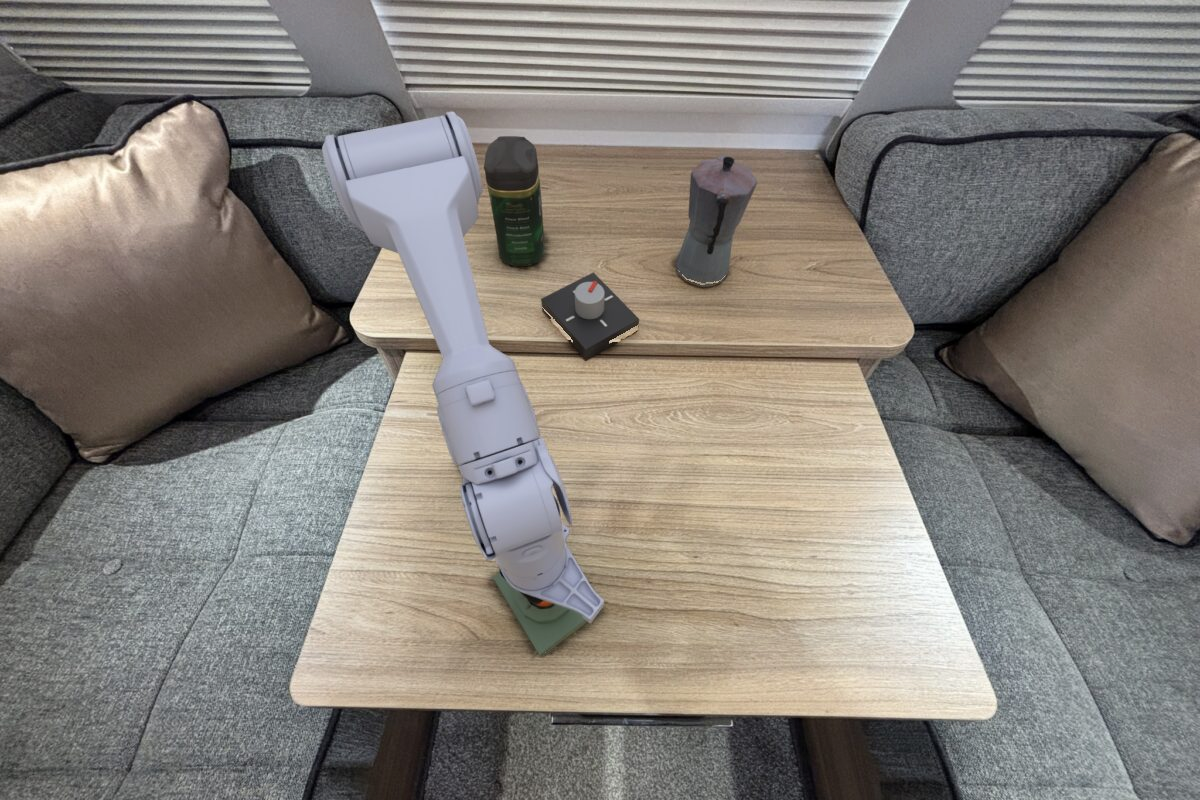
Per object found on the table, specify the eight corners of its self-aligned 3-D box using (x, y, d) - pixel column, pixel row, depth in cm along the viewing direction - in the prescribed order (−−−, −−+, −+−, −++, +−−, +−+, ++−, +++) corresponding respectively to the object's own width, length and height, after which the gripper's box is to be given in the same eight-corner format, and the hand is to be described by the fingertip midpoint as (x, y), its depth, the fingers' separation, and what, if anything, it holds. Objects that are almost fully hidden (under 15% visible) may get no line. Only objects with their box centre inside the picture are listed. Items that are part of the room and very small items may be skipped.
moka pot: (729, 242, 94) (760, 134, 77) (732, 308, 86) (767, 203, 69) (675, 238, 94) (694, 129, 77) (673, 303, 86) (693, 197, 69)
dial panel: (542, 311, 85) (540, 298, 82) (593, 285, 88) (593, 271, 85) (585, 361, 80) (585, 348, 77) (638, 331, 83) (639, 318, 80)
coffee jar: (545, 268, 90) (536, 169, 74) (498, 269, 89) (478, 170, 74) (546, 229, 95) (537, 129, 79) (501, 230, 94) (484, 129, 79)
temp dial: (596, 323, 80) (597, 306, 76) (570, 313, 80) (569, 296, 77) (608, 303, 82) (609, 285, 78) (582, 294, 83) (582, 276, 79)
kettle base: (495, 581, 62) (489, 572, 59) (552, 542, 65) (550, 531, 62) (540, 657, 58) (537, 653, 55) (600, 612, 61) (600, 605, 57)
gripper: (628, 559, 43) (620, 595, 55) (499, 458, 48) (517, 511, 59) (573, 632, 40) (577, 654, 52) (441, 517, 45) (471, 561, 56)
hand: (542, 581), depth 55 cm, fingers closed
